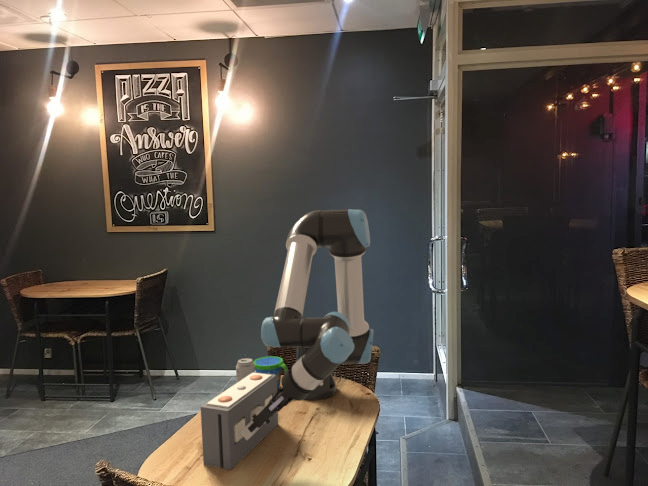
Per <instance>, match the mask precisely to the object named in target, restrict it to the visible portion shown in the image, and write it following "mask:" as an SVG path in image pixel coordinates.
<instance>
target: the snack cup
mask: <svg viewBox="0 0 648 486" xmlns="http://www.w3.org/2000/svg"><path fill="white" fill-rule="evenodd" d="M253 363H254V364H255V372H257V373H265V374H274V375H276V378H277V390H279V389H280V387H281V379H282V373H283V372H282V370H283V371H284V374H285V373H286V372H287V371H288V370H289V369H288V365H286V364H285V363H284V360H283V358H282V357H279V356H271V355H270V356H263V357H259V358H256V359H254V361H253Z"/></svg>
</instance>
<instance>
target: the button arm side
mask: <svg viewBox="0 0 648 486" xmlns="http://www.w3.org/2000/svg"><path fill="white" fill-rule="evenodd" d="M271 399H272V395H270V396H268V397H267V398H266V399H265V400H264V402H265V407H266V406H267V405H268V403H269V401H270V400H271Z"/></svg>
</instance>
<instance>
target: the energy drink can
mask: <svg viewBox="0 0 648 486" xmlns="http://www.w3.org/2000/svg"><path fill="white" fill-rule="evenodd" d="M253 362H254V361H253V359H252V358H249V357H244V358H240V359H238V360H237V364H236V365H235V372H236V383H237V382H238V381H240V380H241V379H243V378H244V377H246V376H247V375H249V374H250V373H252V372H255V364H254V363H253Z"/></svg>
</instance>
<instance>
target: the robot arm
mask: <svg viewBox="0 0 648 486" xmlns="http://www.w3.org/2000/svg"><path fill="white" fill-rule="evenodd" d="M370 235H371V234H370V227H369V220H368V218H367V215H366V212H365V211H364V210H362V209H351V208H348V209H347V208H346V209H344V208H343V209H327V210H325V209H324V210H321V209H320V210H319V209H318V210H313V211H309V212H307V213H306V214H304V215H303V216H302V217H300V218H299V219H298V220H296V222H295V223H294V224H293V226H292V227H291V229H290V231H289V232H288V234H287V237H286V242H285V248H286V250H287V252H286V253H287V254H286V258H285V261H284V262H285V263H284V267H283V272H282V276H281V281H280V285H279V289H278V290H279V291H278V293H277V295H278V296H277V298H276V299H277V300H276V303H275V307H274V312H273V316H269V317H268V316H267V317H265V318H264V320H263V321H262V323H261V330H260V338H261V341H262V343H263V345H265V346H267V347H273V348H280V349H281V348H296V351H295V352H296V353H295V354H296V362H295V363H294V364H293V365H292V367H290V368H289V369H288V371H287V372H286V373H285V372H284V374H283V376H281V382H280V385H281V386H282V387H281V388H279V389H277V392H276V393H275V396H274V397H273V398H272V399H271V400H270V401H269V403H268V405H267V406H266V407H265V408H264V409H263V410H262V411H261V412H260V413H259V414H258V415H256V414H254V415H253V416H252V417H253V420H252V421H251V422H250V423H249V424H248V425H247V426H246V427H245V428H244V429H243V430H242V431H241V432H240V433H241V434H242V435H243V437H244V438H245V439H246V440H248V439H249V438H250V437H251V436H252V435H253V434H254V433H255V432H256V431H257V430H258V429H259V428H261V427H262V426H263V425H264V424H265V422H266V423H267V424H268V423H269V422H270V420H269V418H270V417H272V416H273V414H274V413H275V412H276V411H278V412H280V411H281V410H283V408H285V407H287V406H288V405H289V404H290V403H291V402H292V401H293V400H295V401H303V400H309V401H310V400H311V401H315V400H316V401H319V400H324V399H327V398H331V397H332V396H334V395H335V394H336V393H335V392H337V384H336V381H335V377H334V375H333V372H334V371H335V370H336V369H338V367H340V365H342V364H352V365H353V364H356V365H359V364H360V365H361V364H363V365H365V364H368V363H370V362H371V360H372V359H371V358H372V352H373V351H372V350H373V342H374V333H375V331H374V329H373V328H370V325H369V323H368V322H367V321H366V320H365V311H364V310H365V309H364V308H365V306H364V304H365V303H364V286H363V285H364V284H363V283H364V282H363V266H362V265H363V264H362V261H363V260H362V256H363V255H365V253H366V252H367V248H368V247H370V245H371V236H370ZM318 248H328V251H329V255H330V256H332V257H333V258H334V270H335V271H334V272H335V284H336V285H335V286H336V287H335V288H336V301H337V311H331V312H328V313H326V314H325V315H324V316H323V317H303V315H304V309H305V303H306V296H307V290H308V286H309V280H310V274H311V266H312V262H313V261H312V260H313V256H314V255H316V253H317V251H318ZM334 393H335V394H334ZM333 394H334V395H333Z"/></svg>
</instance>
